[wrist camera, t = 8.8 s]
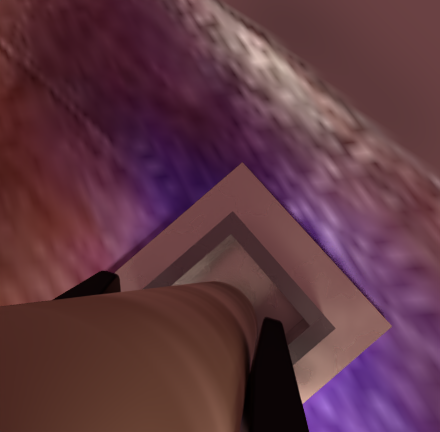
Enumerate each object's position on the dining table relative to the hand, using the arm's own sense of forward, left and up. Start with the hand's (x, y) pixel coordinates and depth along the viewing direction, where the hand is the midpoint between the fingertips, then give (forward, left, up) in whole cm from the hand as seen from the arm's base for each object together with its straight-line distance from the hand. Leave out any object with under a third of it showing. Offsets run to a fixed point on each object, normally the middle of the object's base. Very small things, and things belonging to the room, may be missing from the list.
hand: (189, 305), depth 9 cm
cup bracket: (-1, +1, -13) cm, 13 cm away
